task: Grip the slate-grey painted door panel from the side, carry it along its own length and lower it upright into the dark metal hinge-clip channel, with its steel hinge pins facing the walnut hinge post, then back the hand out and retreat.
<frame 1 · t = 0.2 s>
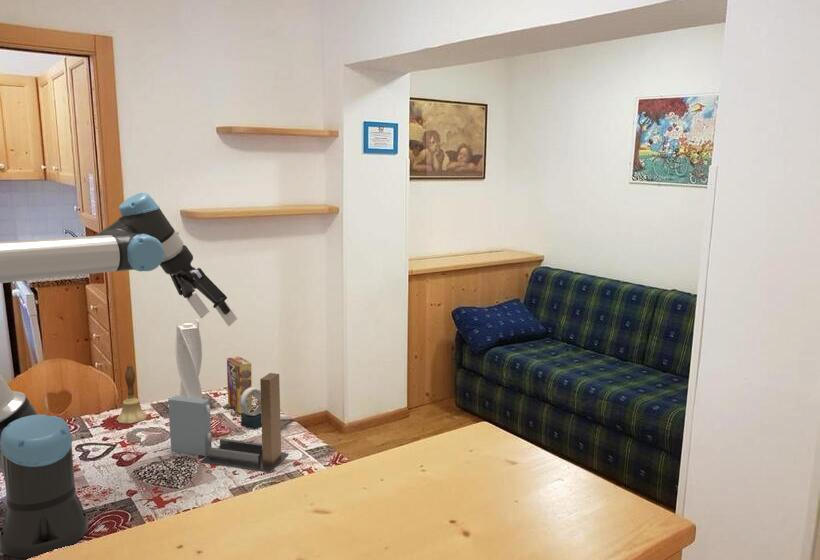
hand: (218, 318, 164), 34 cm above the table, tool tilted 35°, fingers open, 13 cm apart
hand bell: (132, 419, 187), on the table
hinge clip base: (239, 457, 163), on the table
watch: (253, 425, 184), on the table
skyscraper: (192, 408, 195), on the table
candy box: (240, 409, 196), on the table
door panel: (191, 450, 166), on the table
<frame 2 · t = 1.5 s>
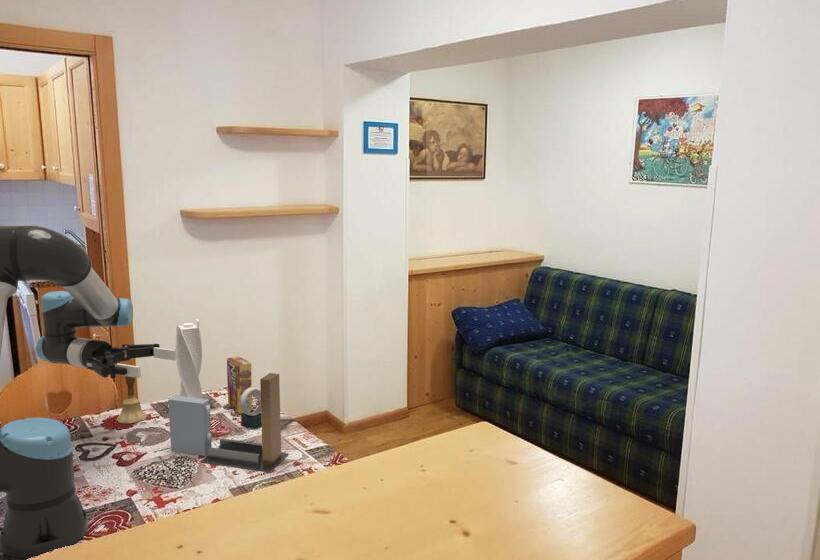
hand: (158, 363, 164), 23 cm above the table, tool horizontal, fingers open, 13 cm apart
nothing on the table moved.
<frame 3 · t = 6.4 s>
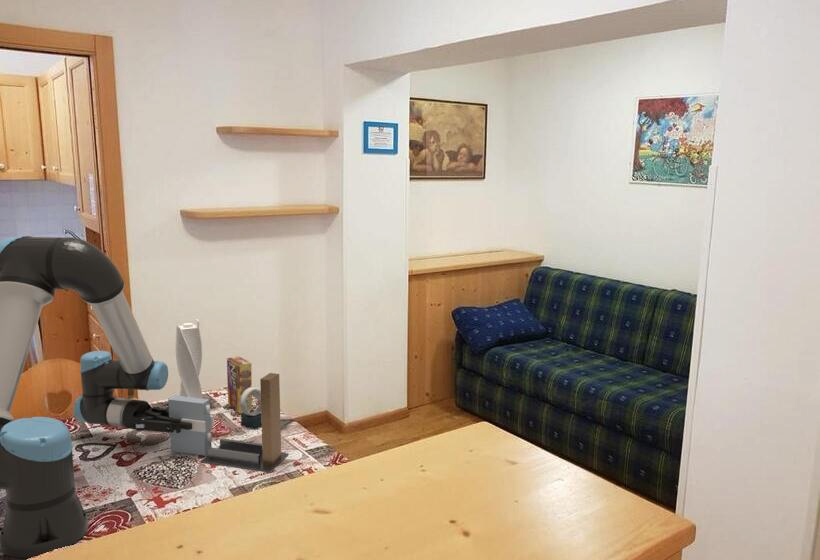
hand: (208, 423, 164), 8 cm above the table, tool horizontal, fingers closed on door panel, 3 cm apart
door panel: (191, 450, 166), on the table, touching gripper
everything else where it was.
when the fingers open (10 cm above the table, at t = 10.8 s): door panel drops 1 cm, resting on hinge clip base.
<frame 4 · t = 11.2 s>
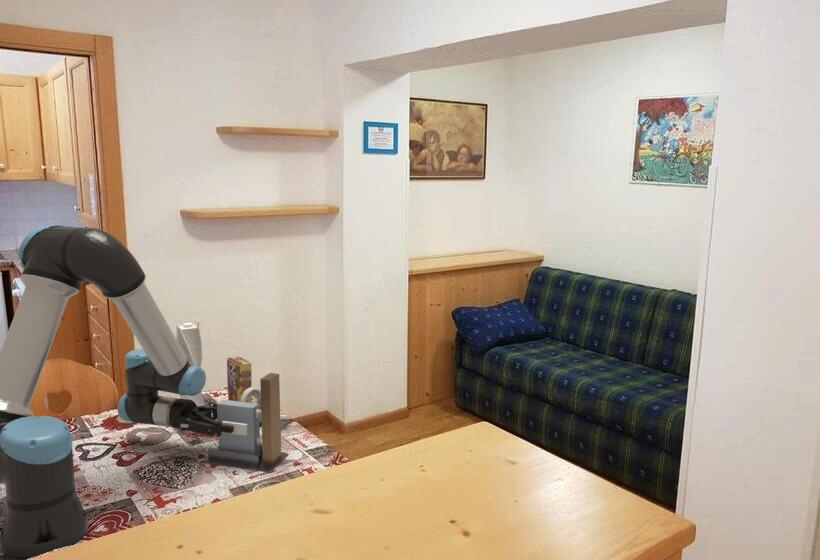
hand: (255, 423, 160), 10 cm above the table, tool horizontal, fingers open, 8 cm apart
door panel: (239, 456, 163), resting on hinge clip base
everything else where it was.
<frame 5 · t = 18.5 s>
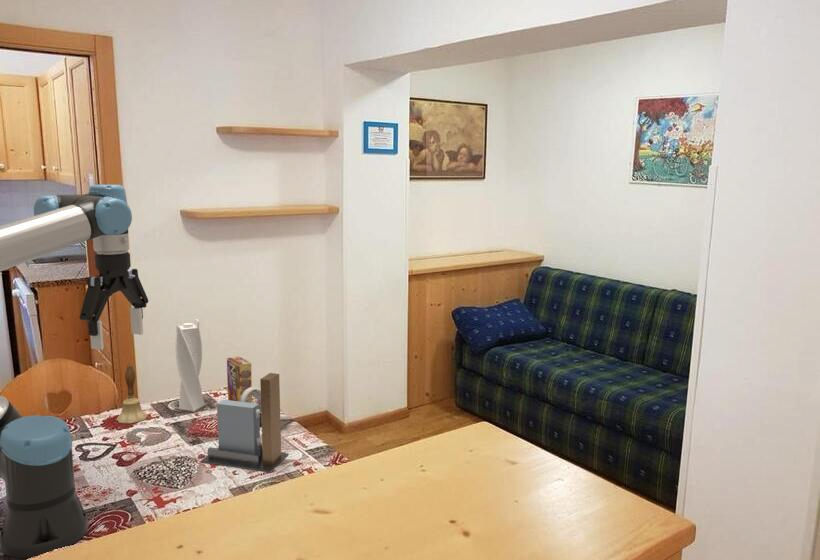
hand: (118, 341, 152), 32 cm above the table, tool pointing down, fingers open, 13 cm apart
nothing on the table moved.
at the end: door panel 0.0 cm off-centre on the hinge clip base, point 0.4 cm above the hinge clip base's base; door panel tilted 0°; the gripper is holding nothing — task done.
